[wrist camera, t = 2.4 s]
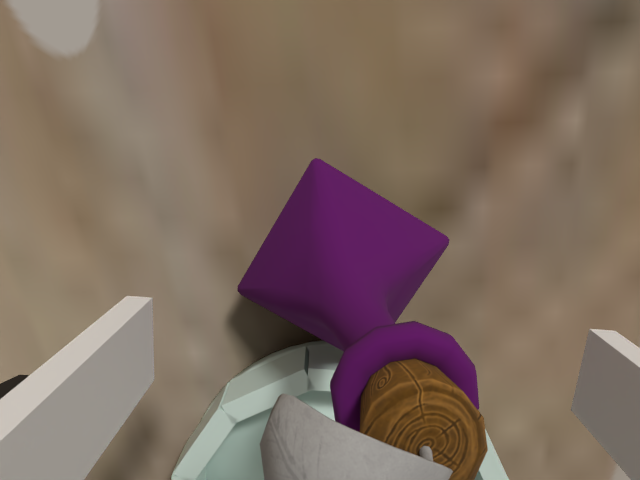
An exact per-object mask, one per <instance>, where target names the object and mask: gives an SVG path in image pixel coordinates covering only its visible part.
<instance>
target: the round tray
mask: <svg viewBox="0 0 640 480" xmlns="http://www.w3.org/2000/svg"><path fill="white" fill-rule="evenodd" d="M343 352H344V351H342V350H340V349H338V348H336V347H335V346H333V345H331V344H329V343H327V342H325V341H324V340H323V341H315V342H308V343H304V344H300V345H295V346H291V347H288V348H285V349H283V350H280V351H277V352H275V353H272V354H270V355H268V356H266V357H264V358H262V359H260V360H258V361H256V362H254V363H253V364H251V365H250V366H248V367H247V368H245V369H244V370H243V371H241V372H240V373H238V374H237V375H236V376H235V377H234V378H233V379H231V381H229V382H228V383H227V384H226V385H225V386H224V387H223V388H222V389H221V391H220V392H219V393H218V394H217V396H216V397H215V398H214V399H213V401H212V402H211V403H210V405H209V407H208V408H207V410H206V412H205V413H204V415H203V417H202V419H201V421H200V423H199V425H198V426H197V427H196V429H195V430H194V432H193V433H192V435H191V436H190V437H189V439H188V440H187V442H186V444H185V446H184V449H183V451H182V453H181V455H180V458H179V460H178V462H177V464H176V467H175V469H174V471H173V474H172V477H171V480H264V473H263V465H262V458H261V450H260V442H261V439H262V436H263V433H264V430H265V427H266V424H267V422H268V419H269V416H270V413H271V410H272V408H273V406H274V405H275V403H276V401H277V399H278V397H279V396H280V395H281V394H287V395H291V396H295V397H296V398H298V399H299V400H301V401H303V402H304V403H306V404H307V405H309V406H311V407H312V408H314V409H316V410H317V411H319V412H320V413H322V414H324V415H325V416H327V417H328V418H330V419H332V420H334V421H335V417H334V410H333V403H332V397H331V390H330V381H331V379H332V376H333V374H334V372H335V370H336V368H337V366H338V363H339V361H340V359H341V357H342V355H343ZM485 432H486V429H485ZM486 440H487V447H488V451H487V453H486V455H485V457H484V460H483V462H482V464H481V466H480V468H479V471H478V473H477V475H476V477H475V479H474V480H509V479H508V477H507V475H506V473H505V470H504V468H503V466H502V464H501V462H500V460H499V457H498V455H497V453H496V451H495V449H494V447H493V445H492V442H491V440H490V438H489V436H488V434H487V432H486Z"/></svg>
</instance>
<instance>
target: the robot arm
mask: <svg viewBox="0 0 640 480" xmlns="http://www.w3.org/2000/svg"><path fill="white" fill-rule="evenodd" d="M153 381H154V346H153V303H152V298H150V297H136V296H126V297H125V298H124V299H123V300H121V301H120V302H119V303H118V304H116V305H115V306H114V307H113V308H112V309H110V310H109V311H108V312H107V313H105V314H104V315H103V316H102V317H101V318H99V319H98V320H97V321H96V322H94V323H93V324H92V325H91V326H89V327H88V328H87V329H86V330H85V331H83V332H82V333H81V334H80V335H78V336H77V337H76V338H75V339H74V340H72V341H71V342H70V343H69V344H67V345H66V346H65V347H64V348H63V349H61V350H60V351H59V352H58V353H56V354H55V355H54V356H53V357H51V358H50V359H49V360H48V361H47V362H45V363H44V364H43V365H42V366H40V367H39V368H38V369H37V370H36V371H34V372H33V373H32V374H31V375H18V376H16V377H14V378H12V379H9V380H7V381H5V382H3V383H1V384H0V480H84V479H85V478H86V476H87V475H88V473H89V472H90V470H91V469H92V468H93V466H94V465H95V463H96V462H97V460H98V459H99V458H100V456H101V455H102V453H103V452H104V451H105V449H106V448H107V446H108V445H109V443H110V442H111V441H112V439H113V438H114V436H115V435H116V433H117V432H118V431H119V429H120V428H121V426H122V425H123V424H124V422H125V421H126V419H127V418H128V416H129V415H130V414H131V412H132V411H133V409H134V408H135V406H136V405H137V404H138V402H139V401H140V399H141V398H142V397H143V395H144V394H145V392H146V391H147V389H148V388H149V387H150V385H151V384H152V382H153ZM571 411H572V412H573V413H574V414H575V415H576V416H577V418H578V419H579V420H580V421H581V422H582V423H583V425H584V426H585V427H586V428H587V429H588V430H589V432H590V433H591V434H592V435H593V436H594V437H595V439H596V440H597V441H598V442H599V443H600V444H601V445H602V447H603V448H604V449H605V450H606V451H607V452H608V454H609V455H610V456H611V457H612V458H613V459H614V461H615V462H616V463H617V464H618V465H619V466H620V467H621V469H622V470H623V471H624V472H625V473H626V474H627V475H628V477H629V478H630V479H631V480H640V348H639V347H637V346H636V345H635V344H633V343H632V342H630V341H629V340H627V339H626V338H625V337H623V336H622V335H620V334H619V333H617V332H616V331H611V330H597V329H589V333H588V337H587V342H586V346H585V350H584V355H583V359H582V363H581V368H580V372H579V377H578V381H577V385H576V390H575V394H574V398H573V403H572V407H571Z"/></svg>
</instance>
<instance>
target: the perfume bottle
mask: <svg viewBox="0 0 640 480" xmlns="http://www.w3.org/2000/svg"><path fill="white" fill-rule="evenodd" d="M448 244H449V239H448V237H447V236H445V235H444V234H442V233H441V232H439V231H437V230H436V229H434V228H432V227H431V226H429V225H427V224H426V223H424V222H422V221H421V220H419V219H418V218H416V217H414V216H413V215H411V214H409V213H408V212H406V211H404V210H403V209H401V208H399V207H398V206H396V205H395V204H393V203H391V202H390V201H388V200H386V199H385V198H383V197H381V196H380V195H378V194H376V193H375V192H373V191H371V190H370V189H368V188H367V187H365V186H363V185H362V184H360V183H358V182H357V181H355V180H353V179H352V178H350V177H348V176H347V175H345V174H344V173H342V172H340V171H339V170H337V169H335V168H334V167H332V166H330V165H329V164H327V163H325V162H324V161H322V160H321V159H317V158H315V159H313V160H312V161H311V163H310V164H309V166H308V168H307V169H306V171H305V173H304V175H303V176H302V178H301V180H300V181H299V183H298V185H297V187H296V188H295V190H294V192H293V193H292V195H291V197H290V198H289V200H288V202H287V204H286V205H285V207H284V209H283V210H282V212H281V214H280V215H279V217H278V219H277V221H276V222H275V224H274V226H273V227H272V229H271V231H270V233H269V234H268V236H267V238H266V239H265V241H264V243H263V244H262V246H261V248H260V250H259V251H258V253H257V255H256V256H255V258H254V260H253V261H252V263H251V265H250V267H249V268H248V270H247V272H246V273H245V275H244V277H243V278H242V280H241V282H240V284H239V285H238V292H239V293H240V294H241V295H242V296H244V297H246V298H248V299H250V300H252V301H253V302H255V303H257V304H259V305H261V306H262V307H264V308H266V309H268V310H270V311H271V312H273V313H275V314H277V315H279V316H280V317H282V318H284V319H286V320H288V321H289V322H291V323H293V324H295V325H297V326H298V327H300V328H302V329H304V330H306V331H307V332H309V333H311V334H313V335H315V336H316V337H318V338H320V339H322V340H324V341H325V342H327V343H329V344H331V345H333V346H335V347H336V348H338V349H340V350H342V351H344V352H343V355H342V357H341V359H340V361H339V363H338V366H337V368H336V370H335V372H334V374H333V376H332V379H331V381H330V390H331V397H332V403H333V410H334V417H335V421H334V420H332V419H330V418H328V417H327V416H325V415H324V414H322V413H320V412H319V411H317V410H316V409H314V408H312V407H311V406H309V405H307V404H306V403H304V402H303V401H301V400H299V399H298V398H296V397H295V396H291V395H287V394H281V395H280V396H279V397H278V399H277V401H276V403H275V405H274V406H273V408H272V410H271V413H270V416H269V419H268V422H267V424H266V427H265V430H264V433H263V436H262V439H261V442H260V450H261V458H262V465H263V473H264V480H474V479H475V477H476V475H477V473H478V471H479V468H480V466H481V464H482V462H483V460H484V457H485V455H486V453H487V451H488V447H487V440H486V432H485V425H484V418H483V416H482V415H481V414H480V412H479V411H478V409H479V400H478V388H477V376H476V370H475V365H474V364H473V363H472V362H471V360H470V359H469V358H468V356H467V355H466V354H465V352H464V351H463V350H462V348H461V347H460V346H459V344H458V343H457V342H456V341H455V339H454V338H453V337H452V336H451V335H449V334H447V333H445V332H442V331H439V330H437V329H434V328H431V327H429V326H426V325H423V324H421V323H418V322H415V321H412V322H405V323H399V324H395V322H396V320H397V319H398V317H399V316H400V315H401V313H402V312H403V310H404V309H405V307H406V306H407V304H408V303H409V301H410V300H411V299H412V297H413V296H414V294H415V293H416V291H417V290H418V288H419V287H420V285H421V284H422V282H423V281H424V280H425V278H426V277H427V275H428V274H429V272H430V271H431V269H432V268H433V266H434V265H435V264H436V262H437V261H438V259H439V258H440V256H441V255H442V253H443V252H444V250H445V249H446V247H447V246H448Z"/></svg>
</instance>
